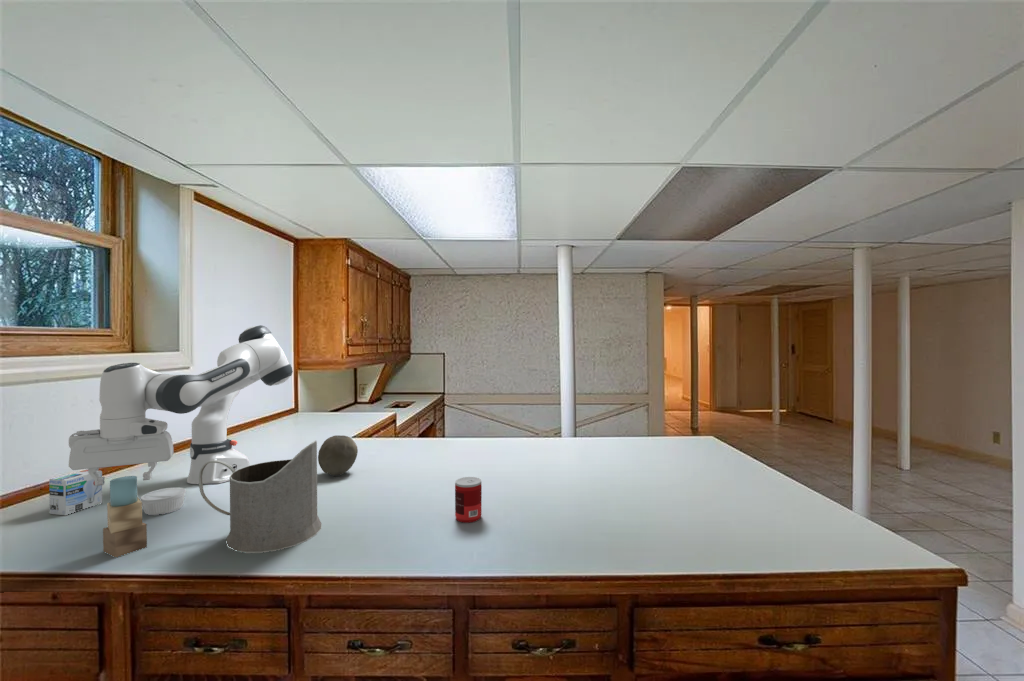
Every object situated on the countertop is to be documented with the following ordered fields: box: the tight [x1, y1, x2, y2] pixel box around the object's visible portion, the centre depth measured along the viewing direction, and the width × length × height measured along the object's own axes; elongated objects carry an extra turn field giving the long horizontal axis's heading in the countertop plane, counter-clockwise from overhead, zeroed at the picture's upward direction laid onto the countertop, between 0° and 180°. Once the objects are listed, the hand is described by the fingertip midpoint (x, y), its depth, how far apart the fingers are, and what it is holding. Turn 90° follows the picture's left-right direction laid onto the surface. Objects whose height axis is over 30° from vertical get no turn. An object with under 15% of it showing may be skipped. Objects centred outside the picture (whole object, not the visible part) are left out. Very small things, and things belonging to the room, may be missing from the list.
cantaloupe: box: [317, 435, 359, 477], centre depth 179 cm, size 14×14×15 cm
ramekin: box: [140, 487, 187, 516], centre depth 143 cm, size 11×11×5 cm
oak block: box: [106, 496, 143, 534], centre depth 116 cm, size 6×6×6 cm
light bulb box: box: [48, 469, 103, 516], centre depth 144 cm, size 11×7×11 cm, turn 168°
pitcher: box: [198, 440, 323, 554], centre depth 126 cm, size 23×32×25 cm
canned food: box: [454, 476, 483, 524], centre depth 136 cm, size 8×8×11 cm
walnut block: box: [102, 521, 148, 558], centre depth 116 cm, size 6×6×6 cm
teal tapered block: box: [109, 475, 138, 507], centre depth 116 cm, size 5×5×6 cm
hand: (123, 482), depth 116 cm, fingers open, 8 cm apart
